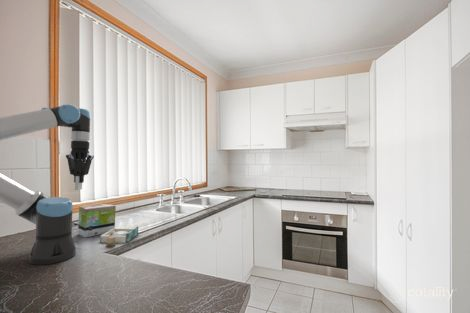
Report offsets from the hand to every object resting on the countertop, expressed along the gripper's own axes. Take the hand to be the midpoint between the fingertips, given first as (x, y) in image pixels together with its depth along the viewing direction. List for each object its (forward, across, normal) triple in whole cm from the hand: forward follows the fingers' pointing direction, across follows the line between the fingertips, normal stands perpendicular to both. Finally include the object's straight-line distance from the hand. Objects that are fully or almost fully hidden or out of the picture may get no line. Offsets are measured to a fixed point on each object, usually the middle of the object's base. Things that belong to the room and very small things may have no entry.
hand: (78, 189), depth 116 cm
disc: (+24, -17, -8) cm, 31 cm away
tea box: (+25, 0, -15) cm, 29 cm away
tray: (+25, -17, -8) cm, 32 cm away
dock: (+25, -17, -8) cm, 32 cm away
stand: (+25, -19, +2) cm, 31 cm away
